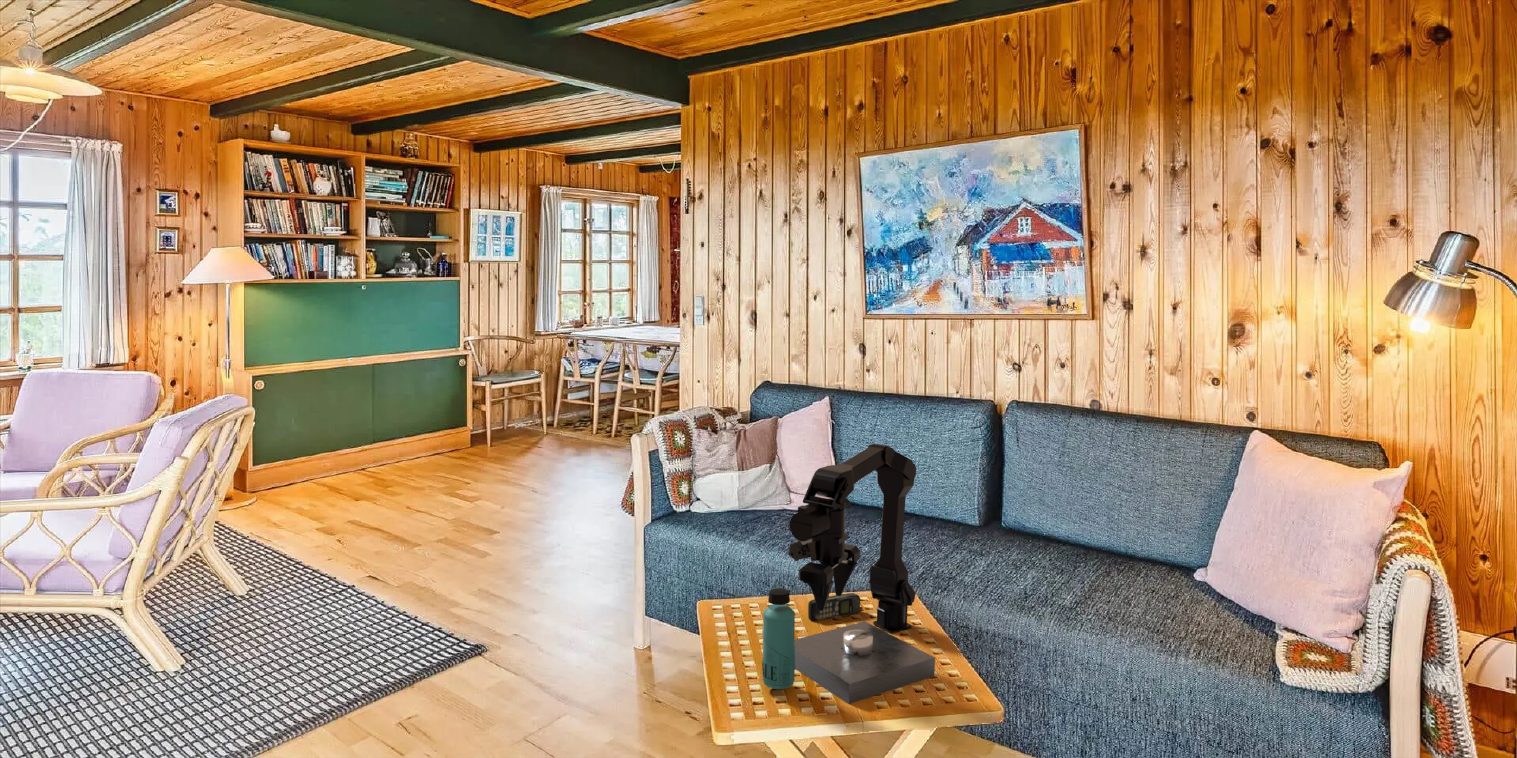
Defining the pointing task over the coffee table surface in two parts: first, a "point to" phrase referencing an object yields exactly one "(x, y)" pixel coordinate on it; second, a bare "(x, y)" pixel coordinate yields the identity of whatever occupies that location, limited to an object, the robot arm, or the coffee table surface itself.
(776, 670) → the beverage bottle
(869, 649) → the end cover
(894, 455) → the robot arm
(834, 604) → the mobile phone
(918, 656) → the bore block
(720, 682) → the coffee table surface
